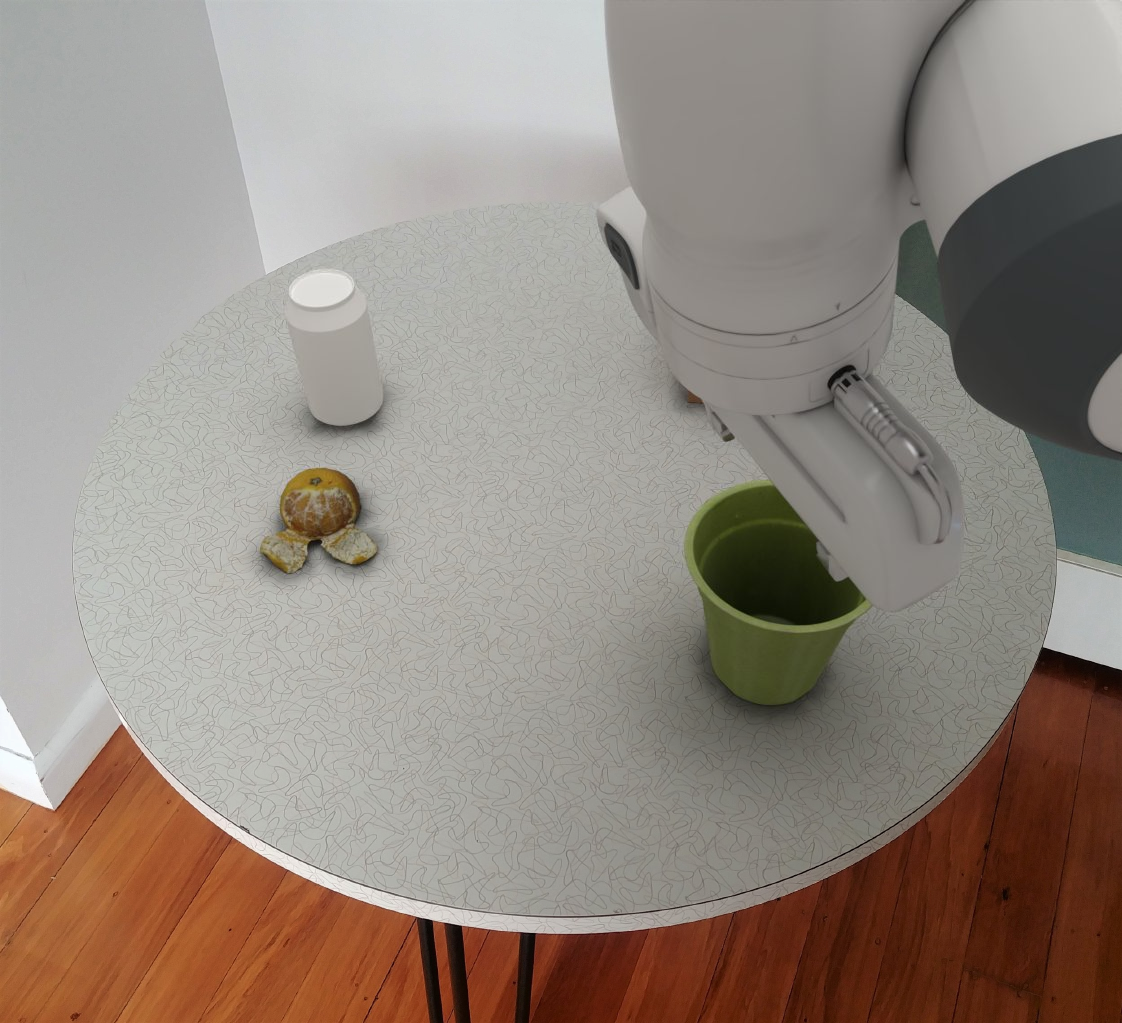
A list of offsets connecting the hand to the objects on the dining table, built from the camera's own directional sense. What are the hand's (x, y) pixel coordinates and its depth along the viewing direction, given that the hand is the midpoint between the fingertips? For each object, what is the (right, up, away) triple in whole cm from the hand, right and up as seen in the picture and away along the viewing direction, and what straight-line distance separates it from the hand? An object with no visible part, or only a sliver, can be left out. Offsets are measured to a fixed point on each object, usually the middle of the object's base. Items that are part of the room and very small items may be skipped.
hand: (783, 491), depth 51 cm
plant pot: (+3, -11, +19) cm, 22 cm away
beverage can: (-28, +8, +37) cm, 47 cm away
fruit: (-29, -3, +28) cm, 40 cm away
